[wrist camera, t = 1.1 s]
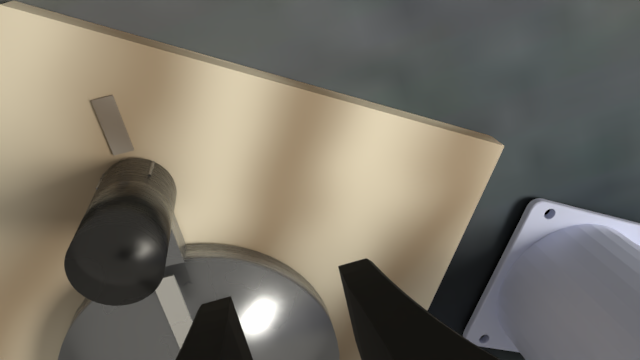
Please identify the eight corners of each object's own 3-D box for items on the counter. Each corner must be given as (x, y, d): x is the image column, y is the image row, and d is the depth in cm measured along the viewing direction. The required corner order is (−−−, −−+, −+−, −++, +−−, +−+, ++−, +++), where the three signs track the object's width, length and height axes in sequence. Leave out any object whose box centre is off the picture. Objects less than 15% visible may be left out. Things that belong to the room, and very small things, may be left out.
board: (490, 135, 22) (507, 147, 21) (314, 523, 30) (318, 549, 29) (-4, -5, 17) (-22, 0, 16) (-55, 509, 25) (-69, 539, 24)
